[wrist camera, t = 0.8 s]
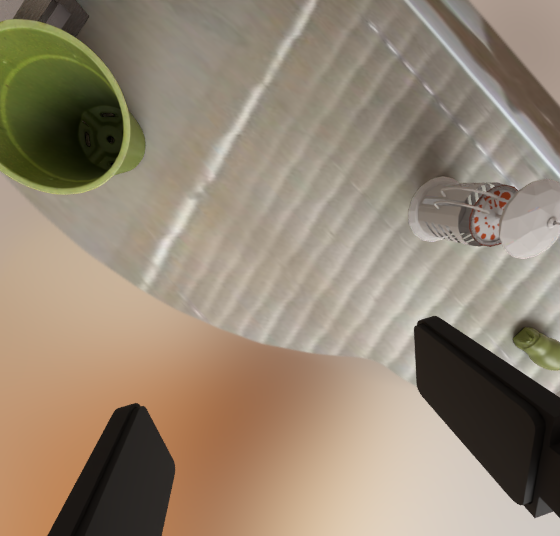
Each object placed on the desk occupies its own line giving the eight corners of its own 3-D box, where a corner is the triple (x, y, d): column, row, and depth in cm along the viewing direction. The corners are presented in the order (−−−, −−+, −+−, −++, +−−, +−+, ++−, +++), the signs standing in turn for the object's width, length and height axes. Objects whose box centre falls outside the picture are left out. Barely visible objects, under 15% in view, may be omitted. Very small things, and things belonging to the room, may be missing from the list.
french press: (445, 250, 42) (714, 329, 18) (387, 224, 39) (617, 280, 16) (478, 191, 40) (827, 196, 16) (418, 159, 37) (740, 109, 13)
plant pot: (122, 60, 29) (55, -16, 18) (185, 163, 32) (160, 151, 22) (28, 112, 29) (-96, 67, 18) (102, 210, 32) (37, 220, 22)
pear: (562, 381, 48) (525, 353, 46) (534, 365, 53) (500, 338, 52) (586, 359, 47) (548, 329, 45) (555, 344, 52) (520, 317, 51)
